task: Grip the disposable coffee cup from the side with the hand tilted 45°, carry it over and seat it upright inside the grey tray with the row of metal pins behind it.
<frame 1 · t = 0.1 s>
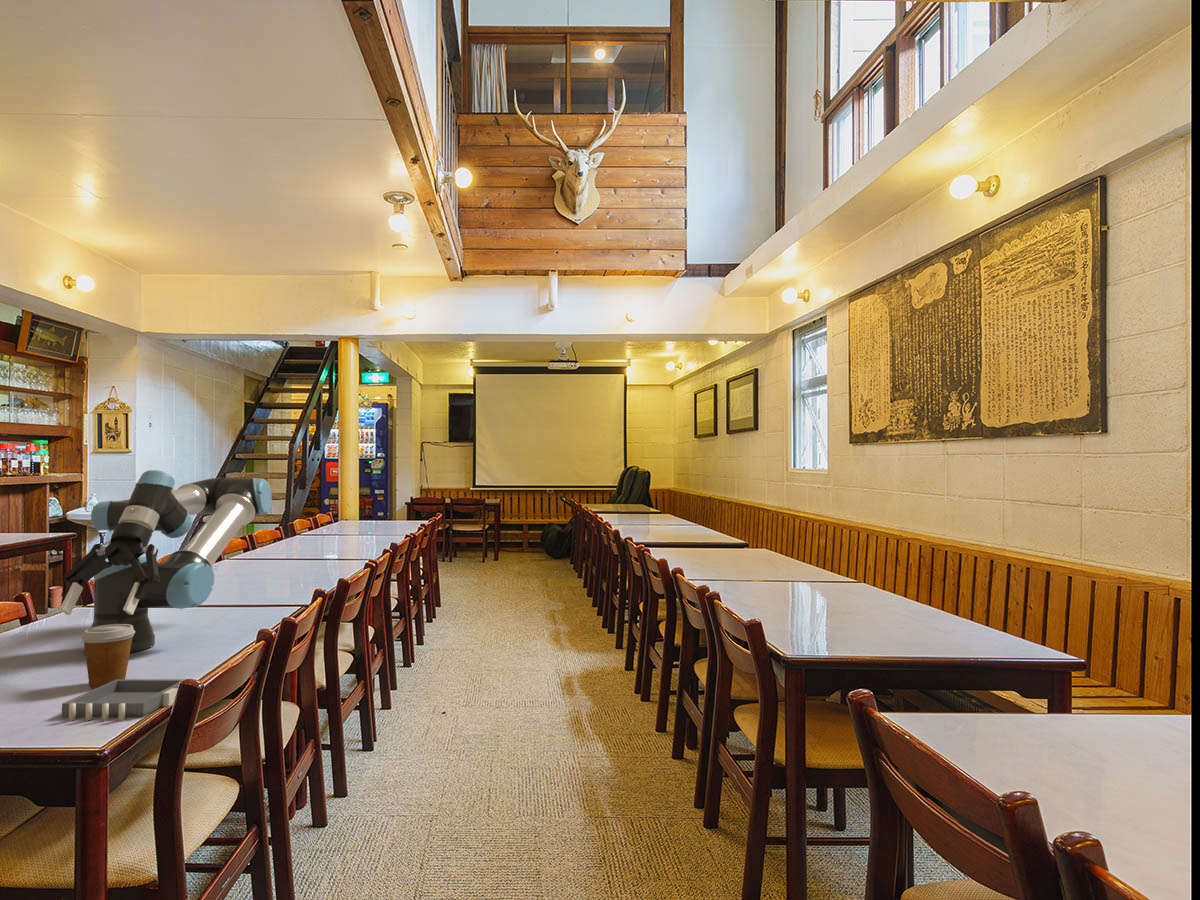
hand: (96, 612, 150), 15 cm above the table, tool tilted 35°, fingers open, 13 cm apart
grey tray: (128, 703, 136), on the table
disposable coffee cup: (107, 684, 148), on the table
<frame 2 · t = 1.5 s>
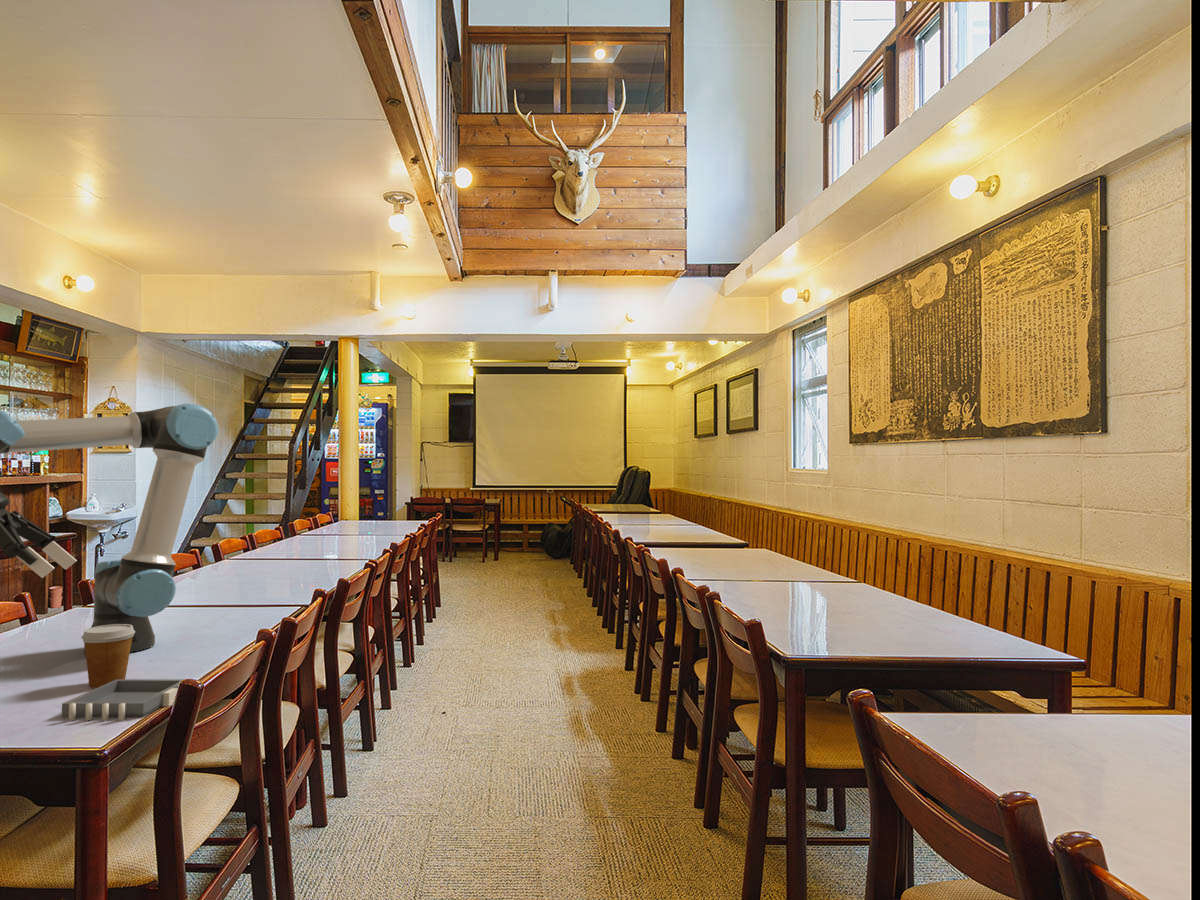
hand: (60, 569, 149), 25 cm above the table, tool tilted 45°, fingers open, 13 cm apart
nothing on the table moved.
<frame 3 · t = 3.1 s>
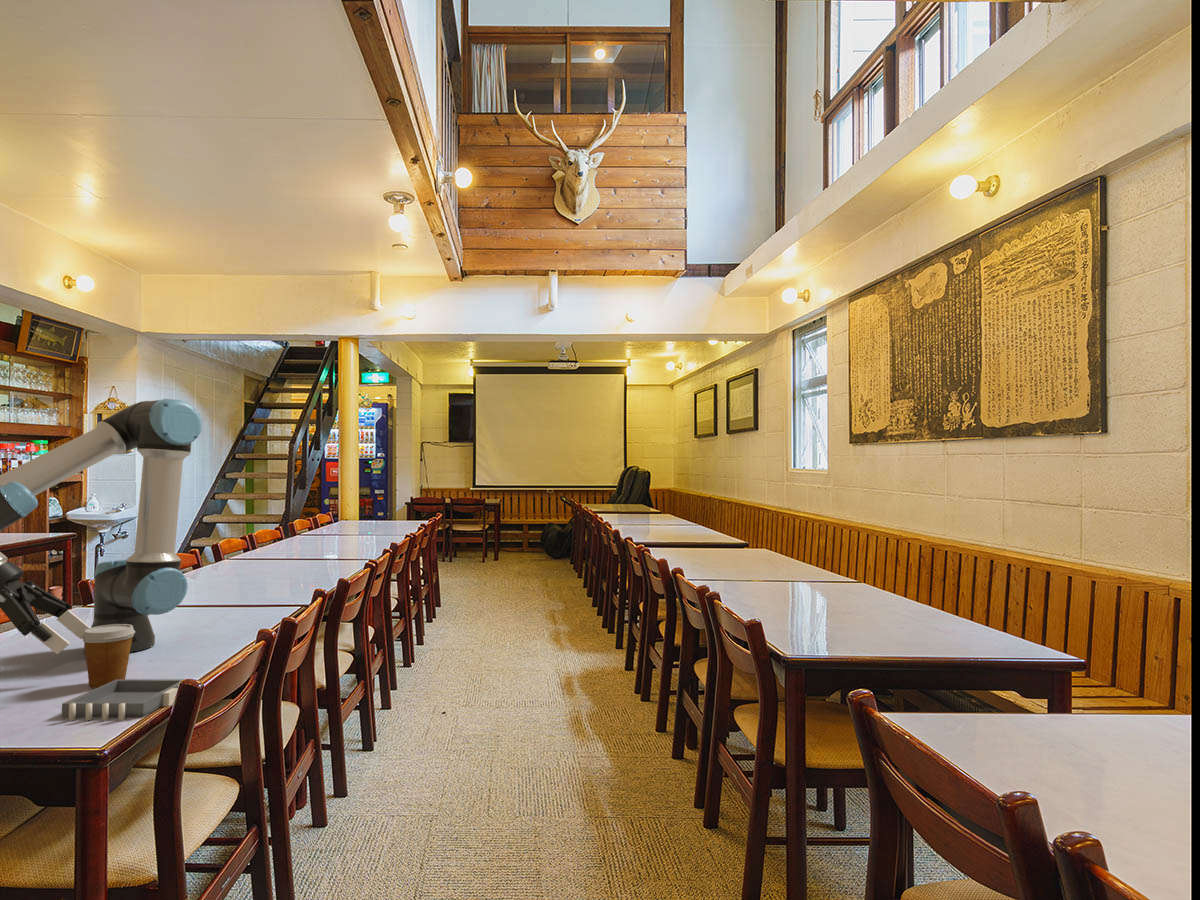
hand: (75, 641, 145), 10 cm above the table, tool tilted 45°, fingers open, 13 cm apart
nothing on the table moved.
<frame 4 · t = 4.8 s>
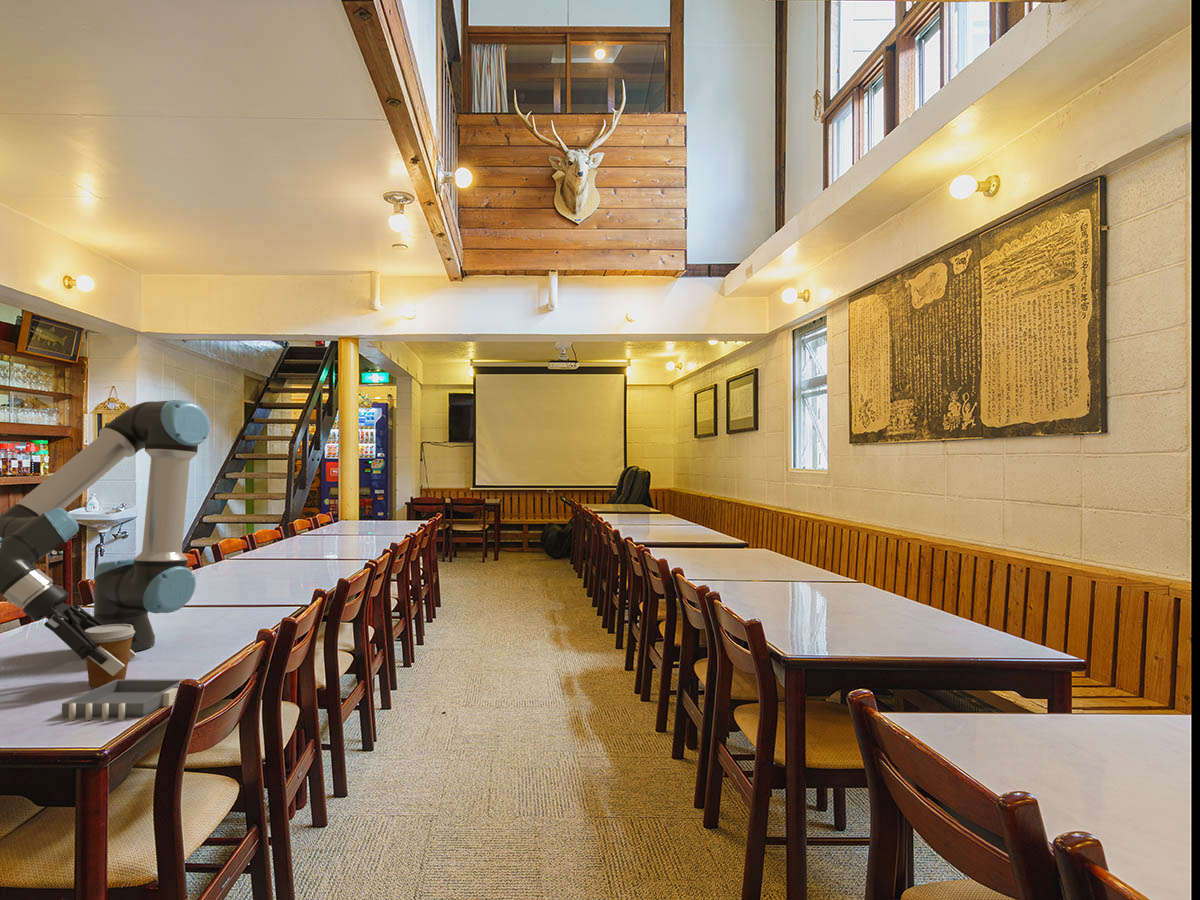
hand: (125, 664, 149), 4 cm above the table, tool tilted 45°, fingers closed on disposable coffee cup, 9 cm apart
disposable coffee cup: (107, 684, 148), on the table, touching gripper
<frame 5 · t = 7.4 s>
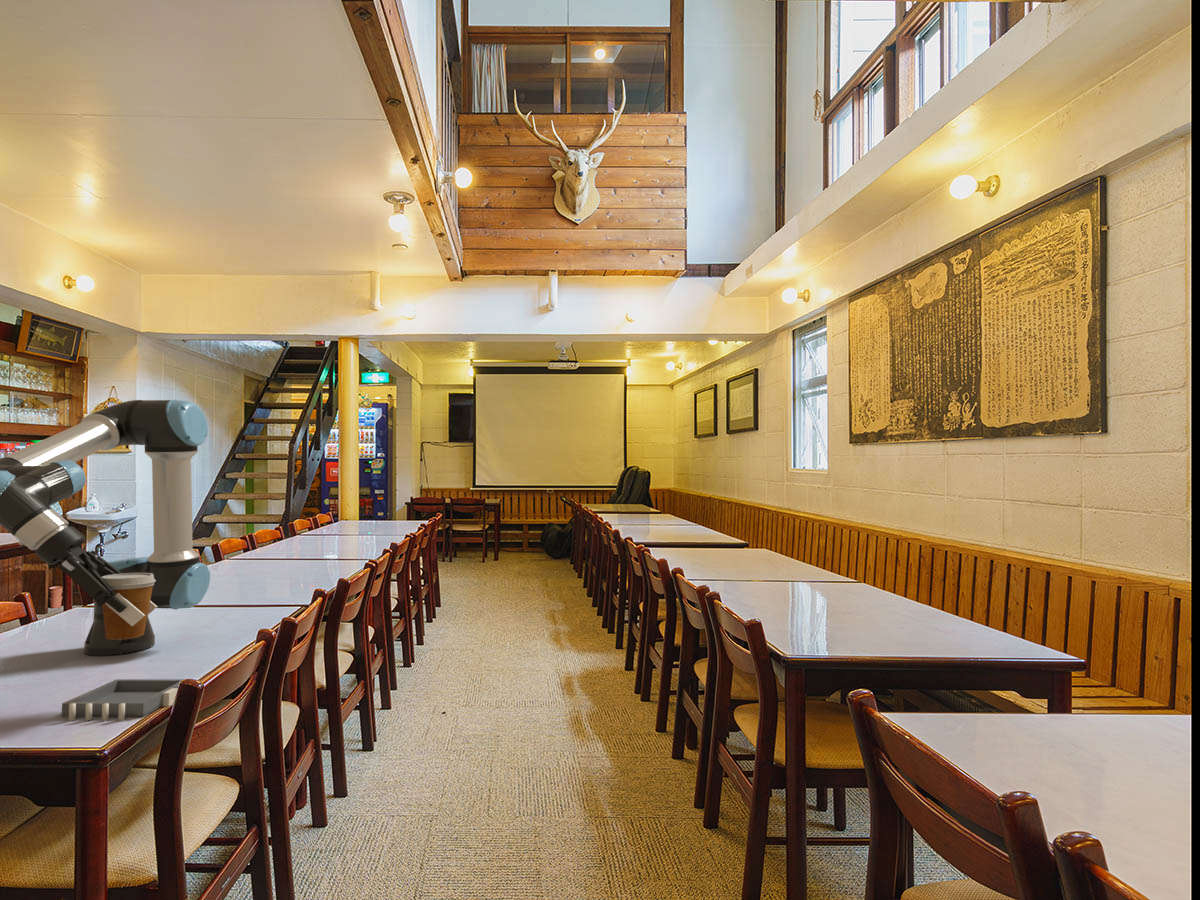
hand: (145, 616, 137), 17 cm above the table, tool tilted 45°, fingers closed on disposable coffee cup, 9 cm apart
disposable coffee cup: (125, 637, 136), point 13 cm above the table, touching gripper
when the fingers open (6 cm above the table, at t = 10.1 s): disposable coffee cup drops 1 cm, resting on grey tray.
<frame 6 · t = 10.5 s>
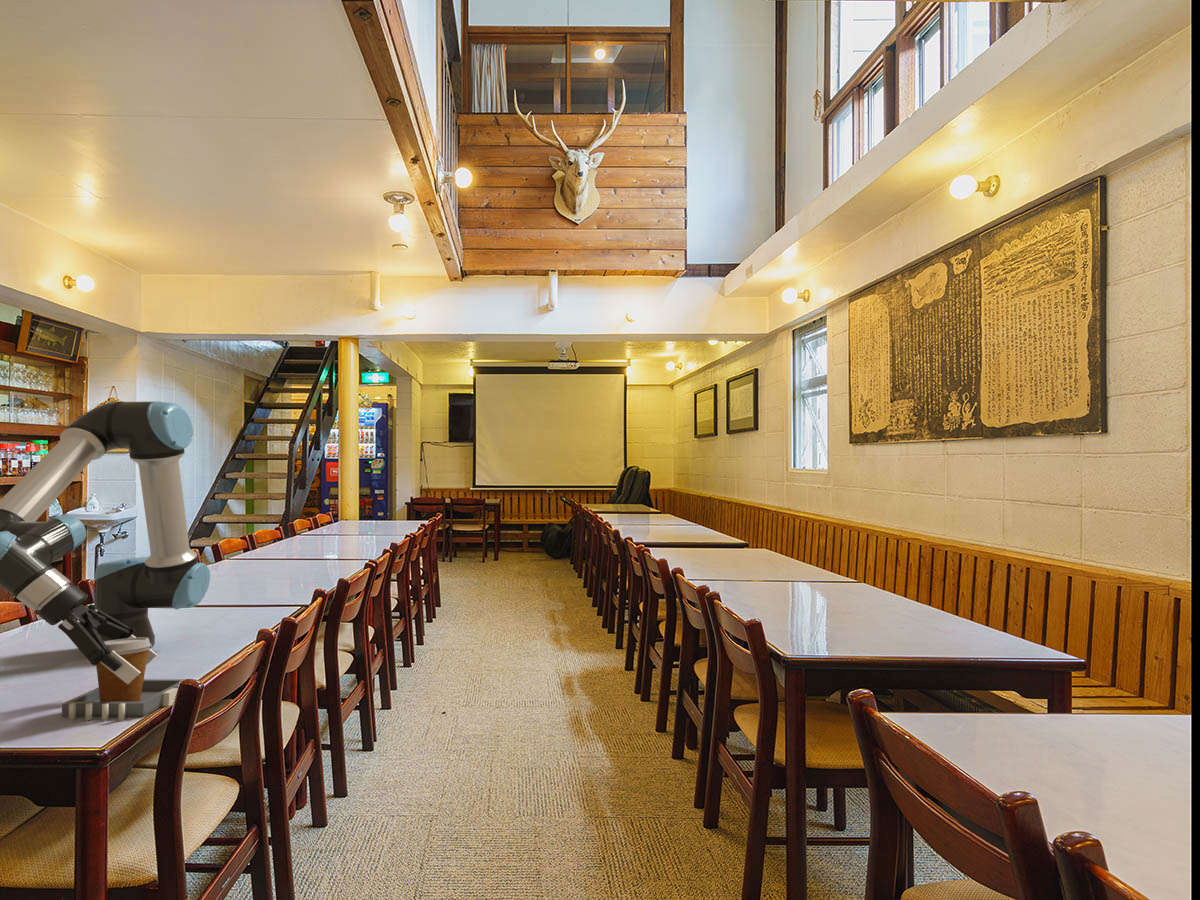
hand: (143, 669, 137), 7 cm above the table, tool tilted 45°, fingers open, 13 cm apart
disposable coffee cup: (120, 705, 133), point 1 cm above the table, touching gripper, grey tray
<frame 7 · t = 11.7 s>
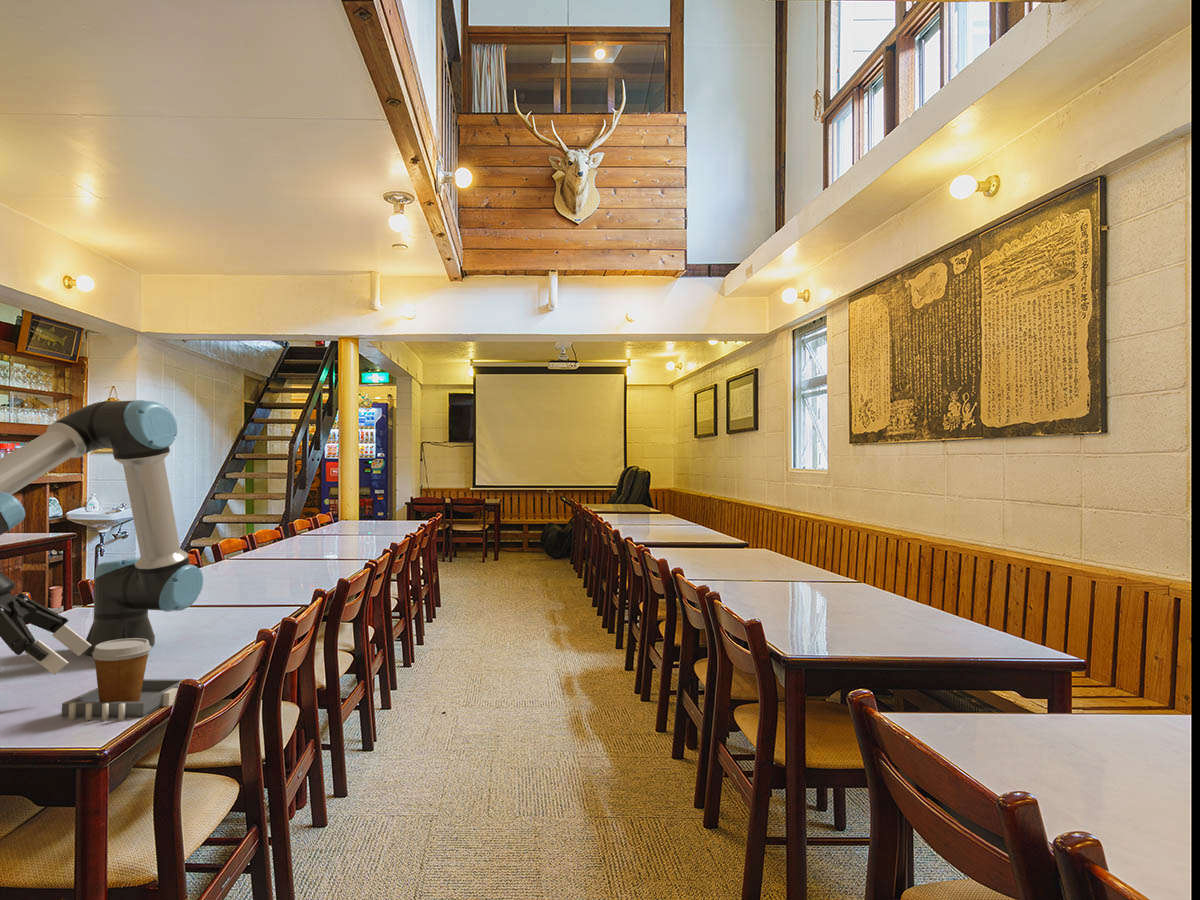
hand: (74, 659, 133), 10 cm above the table, tool tilted 45°, fingers open, 13 cm apart
disposable coffee cup: (119, 706, 133), resting on grey tray
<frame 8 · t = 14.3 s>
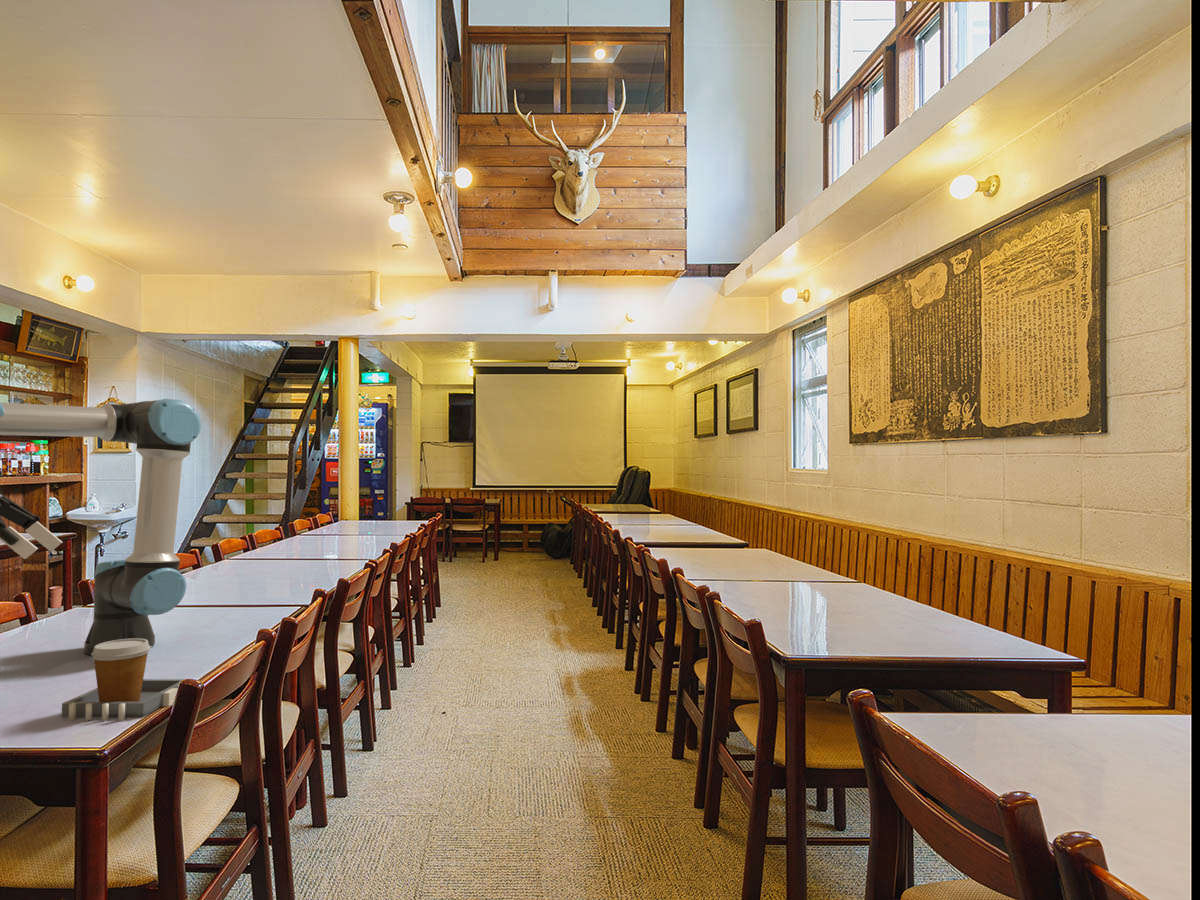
hand: (44, 550, 142), 30 cm above the table, tool tilted 45°, fingers open, 13 cm apart
nothing on the table moved.
at the end: disposable coffee cup inside the target area on the grey tray (3.0 cm from its centre), point 0.4 cm above the grey tray's base; disposable coffee cup tilted 0°; the gripper is holding nothing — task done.
